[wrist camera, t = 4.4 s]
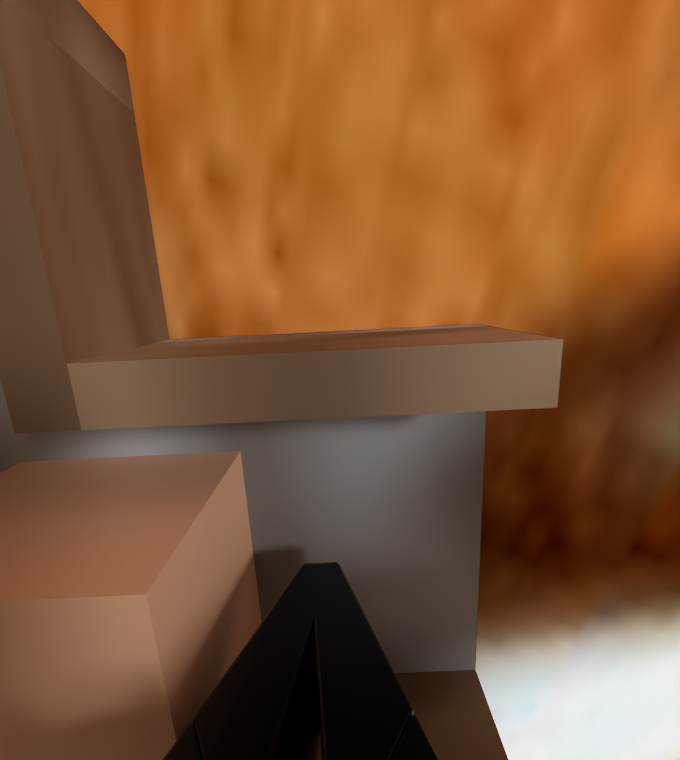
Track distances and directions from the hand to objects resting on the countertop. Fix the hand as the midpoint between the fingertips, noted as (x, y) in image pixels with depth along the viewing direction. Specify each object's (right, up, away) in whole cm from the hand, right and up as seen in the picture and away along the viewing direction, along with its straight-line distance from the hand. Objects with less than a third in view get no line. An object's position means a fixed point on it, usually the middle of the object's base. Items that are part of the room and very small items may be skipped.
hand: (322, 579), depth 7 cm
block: (-4, 0, +1) cm, 4 cm away
